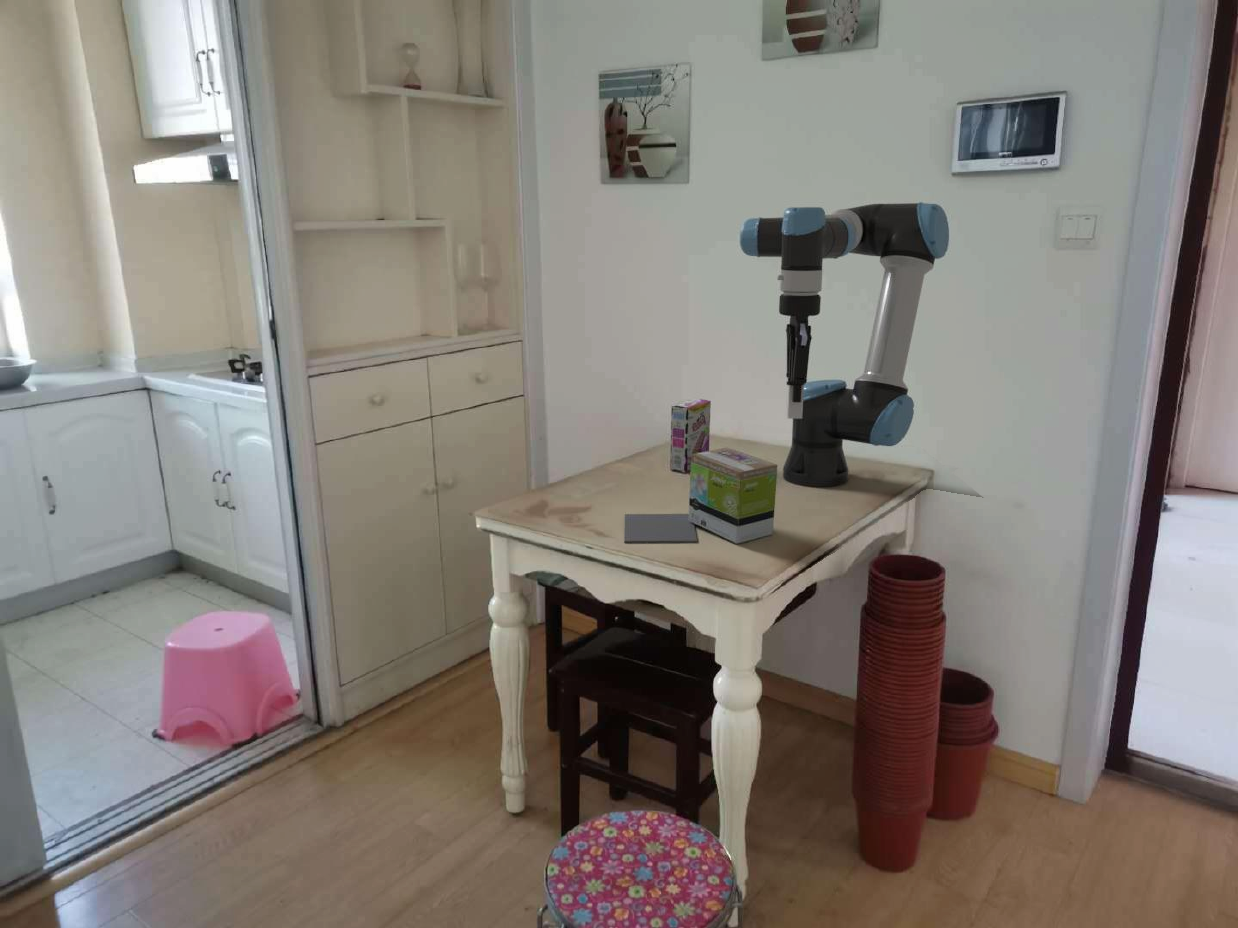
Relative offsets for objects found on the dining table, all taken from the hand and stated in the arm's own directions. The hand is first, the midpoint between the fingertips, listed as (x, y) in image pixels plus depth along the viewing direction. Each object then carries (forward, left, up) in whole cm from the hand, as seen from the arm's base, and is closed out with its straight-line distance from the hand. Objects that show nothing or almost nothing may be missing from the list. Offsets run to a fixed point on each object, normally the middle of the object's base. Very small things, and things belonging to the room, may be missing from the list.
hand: (794, 417), depth 175 cm
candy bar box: (+17, -46, -23) cm, 54 cm away
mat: (+26, -1, -23) cm, 35 cm away
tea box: (+12, 0, -23) cm, 26 cm away
